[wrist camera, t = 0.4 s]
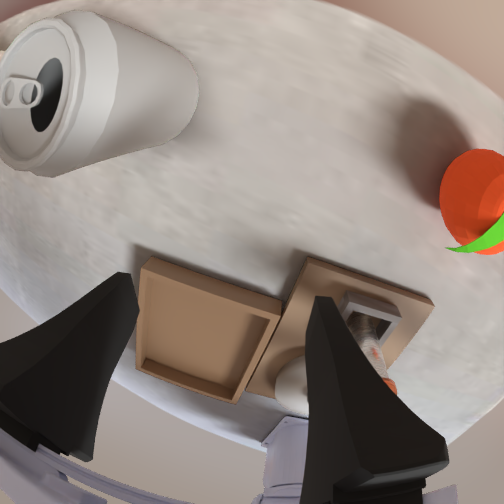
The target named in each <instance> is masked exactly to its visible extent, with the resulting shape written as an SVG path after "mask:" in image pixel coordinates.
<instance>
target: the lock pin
mask: <svg viewBox="0 0 504 504" xmlns="http://www.w3.org/2000/svg"><path fill="white" fill-rule="evenodd" d="M346 324H347V326H348V328H349V330H350V331H351V333H352V335H353V336H354V338H355V340H356V342H357V343H358V345H359V346H360V348H361V350H362V351H363V353H364V354H365V356H366V357H367V359H368V360H369V362H370V363H371V364H372V366H373V367H374V369H375V370H376V371H377V373H378V374H379V375H380V376H381V378H382V379H383V380H384V382H385V383H386V384H387V385H388V386H389V387H390V389H391V390H392V391H393V392H394V393H395V394H396V395H397V389H396V385H395V383H394V381H393V380H391V379H389V377H388V373H387V369H386V365H385V362H384V358H383V354H382V351H381V347H380V344H379V340H378V337H377V334H376V330H375V327H374V324H373V321H372V317H371V316H370V315H367V314H364V313H360V312H354V313H352V314H351V315H350V316H349V317H348V319H347V321H346Z"/></svg>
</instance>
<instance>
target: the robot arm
mask: <svg viewBox="0 0 504 504" xmlns="http://www.w3.org/2000/svg"><path fill="white" fill-rule="evenodd" d="M139 312H140V309H139V305H138V301H137V297H136V294H135V290H134V286H133V282H132V278H131V274H129V273H122V272H117V273H115V274H114V275H112V276H111V277H109V278H108V279H107V280H105V281H104V282H102V283H101V284H100V285H98V286H97V287H96V288H94V289H93V290H91V291H90V292H89V293H87V294H86V295H85V296H83V297H82V298H81V299H79V300H78V301H76V302H75V303H74V304H72V305H71V306H69V307H68V308H66V309H65V310H63V311H62V312H61V313H59V314H58V315H56V316H54V317H53V318H51V319H50V320H48V321H46V322H44V323H43V324H41V325H39V326H37V327H36V328H34V329H31V330H30V331H28V332H25V333H23V334H21V335H19V336H17V337H15V338H12V339H10V340H7V341H5V342H2V343H0V489H1V490H2V491H3V492H4V493H5V494H6V495H7V496H8V497H9V498H10V499H11V500H12V501H13V502H14V503H15V504H107V500H106V499H104V498H101V497H99V496H97V495H95V494H93V493H91V492H88V491H86V490H84V489H82V488H80V487H77V486H75V485H73V484H71V483H69V481H68V479H67V476H66V475H68V476H70V477H71V478H73V479H75V480H77V481H79V482H81V483H84V484H85V485H88V486H90V487H92V488H94V489H97V490H99V491H101V492H103V493H106V494H108V495H111V496H113V497H116V498H118V499H121V500H124V501H126V502H129V503H132V504H194V503H189V502H184V501H180V500H176V499H172V498H168V497H164V496H160V495H157V494H153V493H150V492H146V491H144V490H140V489H137V488H134V487H131V486H129V485H126V484H123V483H120V482H118V481H115V480H112V479H110V478H107V477H105V476H103V475H100V474H98V473H95V472H93V471H91V470H89V469H87V468H84V467H82V466H80V465H78V464H76V463H74V462H72V461H70V460H68V459H66V458H64V457H62V456H60V453H63V454H64V455H66V456H69V454H70V455H72V456H74V457H76V458H78V459H80V460H82V461H84V462H89V461H91V460H92V459H93V451H94V443H95V436H96V430H97V425H98V419H99V415H100V411H101V408H102V404H103V400H104V396H105V393H106V390H107V387H108V384H109V381H110V378H111V376H112V374H113V371H114V369H115V367H116V365H117V363H118V361H119V359H120V357H121V355H122V353H123V351H124V349H125V347H126V344H127V342H128V340H129V338H130V336H131V334H132V332H133V330H134V327H135V324H136V321H137V318H138V315H139ZM305 364H306V377H307V390H308V404H309V420H305V419H300V418H295V417H290V416H286V417H284V418H283V419H282V420H281V421H280V423H279V424H278V425H277V426H276V427H275V428H274V430H273V431H272V432H271V433H270V434H269V435H268V436H267V438H266V439H265V440H264V441H263V442H262V443H261V446H262V447H266V448H267V454H266V461H265V469H264V476H263V484H264V487H265V488H264V494H259V495H258V496H257V497H256V498H254V499H253V501H252V503H251V504H458V495H457V487H456V485H451V486H448V487H445V488H442V489H439V490H436V491H432V492H429V493H427V494H423V495H422V488H425V486H426V480H425V478H427V477H429V476H431V475H433V474H435V473H437V472H438V471H440V470H442V469H444V468H445V467H446V466H447V465H448V464H449V456H448V449H447V445H446V441H445V438H444V437H443V436H441V435H440V434H439V433H438V432H436V431H435V430H434V429H432V428H431V427H430V426H429V425H427V424H426V423H425V422H424V421H422V420H421V419H420V418H419V417H418V416H417V415H416V414H415V413H414V412H412V411H411V410H410V409H409V408H408V407H407V406H406V405H405V404H404V403H403V401H402V400H401V399H400V398H399V397H398V396H397V395H396V394H395V393H394V392H393V391H392V390H391V389H390V387H389V386H388V385H387V384H386V383H385V382H384V380H383V379H382V378H381V376H380V375H379V374H378V373H377V371H376V370H375V369H374V367H373V366H372V364H371V363H370V362H369V360H368V359H367V357H366V356H365V354H364V353H363V351H362V350H361V348H360V346H359V345H358V343H357V342H356V340H355V338H354V336H353V335H352V333H351V331H350V330H349V328H348V326H347V324H346V323H345V321H344V319H343V317H342V315H341V313H340V312H339V310H338V308H337V306H336V304H335V302H334V300H333V298H332V297H326V296H315V299H314V303H313V307H312V310H311V314H310V318H309V322H308V325H307V329H306V334H305ZM65 474H66V475H65Z"/></svg>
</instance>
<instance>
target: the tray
mask: <svg viewBox="0 0 504 504" xmlns="http://www.w3.org/2000/svg"><path fill="white" fill-rule="evenodd" d="M138 305H139V309H140V312H139V315H138V318H137V329H136V369H137V370H139V371H142V372H144V373H146V374H149V375H151V376H154V377H156V378H159V379H161V380H164V381H166V382H169V383H172V384H174V385H177V386H180V387H182V388H185V389H188V390H191V391H194V392H197V393H200V394H203V395H206V396H209V397H212V398H215V399H218V400H222V401H225V402H228V403H232V404H235V405H236V403H237V402H238V400H239V398H240V396H241V394H242V392H243V390H244V388H245V387H246V385H247V383H248V381H249V379H250V377H251V375H252V373H253V371H254V369H255V367H256V365H257V363H258V361H259V359H260V357H261V355H262V353H263V351H264V349H265V347H266V345H267V343H268V341H269V339H270V337H271V335H272V333H273V331H274V329H275V327H276V325H277V323H278V321H279V319H280V317H281V307H282V301H281V300H278V299H275V298H271V297H268V296H265V295H262V294H259V293H256V292H253V291H250V290H247V289H244V288H241V287H238V286H235V285H232V284H229V283H226V282H223V281H220V280H217V279H214V278H211V277H209V276H206V275H203V274H200V273H197V272H194V271H191V270H189V269H186V268H183V267H180V266H177V265H175V264H172V263H169V262H166V261H163V260H161V259H158V258H155V257H153V256H151V257H150V258H149V260H148V261H147V262H146V263H145V264H144V265H143V266H142V267H141V272H140V283H139V295H138Z"/></svg>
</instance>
